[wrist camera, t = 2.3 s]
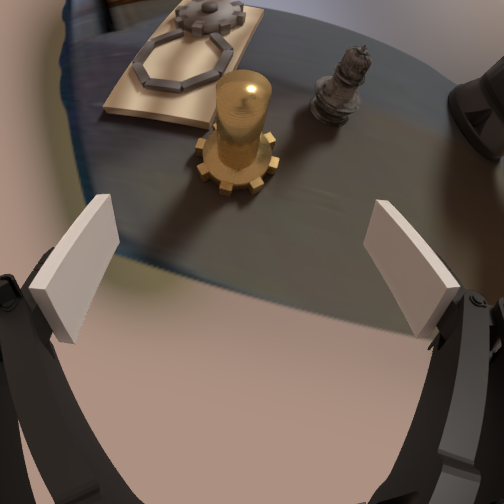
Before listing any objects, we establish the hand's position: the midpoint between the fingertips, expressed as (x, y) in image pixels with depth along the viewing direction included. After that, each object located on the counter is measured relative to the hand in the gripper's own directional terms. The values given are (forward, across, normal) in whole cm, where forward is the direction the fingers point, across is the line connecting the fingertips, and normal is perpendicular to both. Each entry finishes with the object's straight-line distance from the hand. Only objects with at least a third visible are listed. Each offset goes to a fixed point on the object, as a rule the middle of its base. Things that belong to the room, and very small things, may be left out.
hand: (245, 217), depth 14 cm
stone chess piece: (+24, +12, +3) cm, 27 cm away
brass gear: (+18, 0, -3) cm, 18 cm away
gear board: (+31, -6, +10) cm, 33 cm away
